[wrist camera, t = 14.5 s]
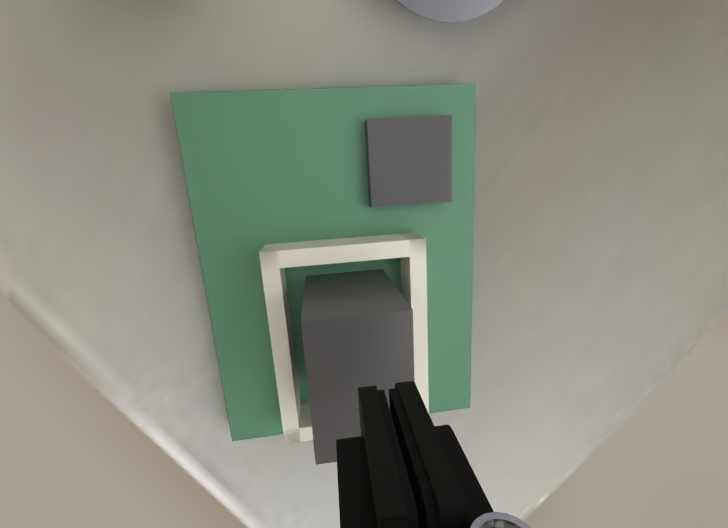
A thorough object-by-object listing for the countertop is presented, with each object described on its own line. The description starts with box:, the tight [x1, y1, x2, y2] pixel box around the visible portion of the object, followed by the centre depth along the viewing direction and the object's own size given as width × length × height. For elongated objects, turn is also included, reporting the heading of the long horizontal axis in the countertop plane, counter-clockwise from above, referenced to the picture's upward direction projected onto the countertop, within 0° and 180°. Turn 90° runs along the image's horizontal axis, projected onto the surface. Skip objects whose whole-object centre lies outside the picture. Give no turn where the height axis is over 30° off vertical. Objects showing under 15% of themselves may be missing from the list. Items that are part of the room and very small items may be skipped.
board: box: [170, 84, 475, 444], centre depth 18 cm, size 18×14×4 cm
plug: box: [301, 269, 414, 464], centre depth 16 cm, size 7×4×6 cm, turn 3°
